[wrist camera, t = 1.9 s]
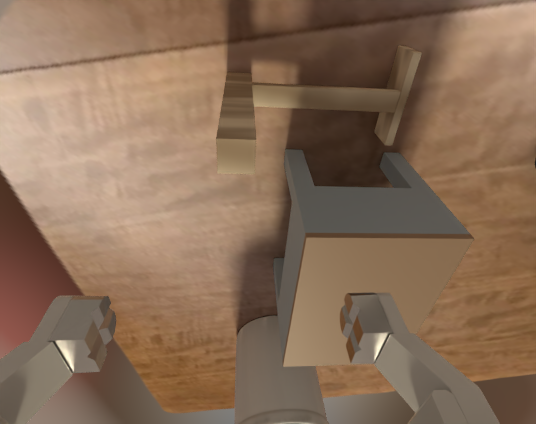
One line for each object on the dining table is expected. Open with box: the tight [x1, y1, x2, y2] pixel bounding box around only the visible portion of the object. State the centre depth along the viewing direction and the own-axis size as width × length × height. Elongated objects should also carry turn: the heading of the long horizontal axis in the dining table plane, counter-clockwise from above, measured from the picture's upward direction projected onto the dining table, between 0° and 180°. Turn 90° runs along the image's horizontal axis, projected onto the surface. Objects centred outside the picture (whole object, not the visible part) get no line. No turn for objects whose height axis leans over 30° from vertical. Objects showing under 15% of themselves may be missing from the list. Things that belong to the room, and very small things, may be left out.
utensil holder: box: [235, 315, 329, 424], centre depth 54 cm, size 15×15×18 cm
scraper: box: [216, 45, 422, 174], centre depth 27 cm, size 9×18×16 cm, turn 86°
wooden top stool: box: [273, 149, 474, 367], centre depth 38 cm, size 20×14×16 cm
